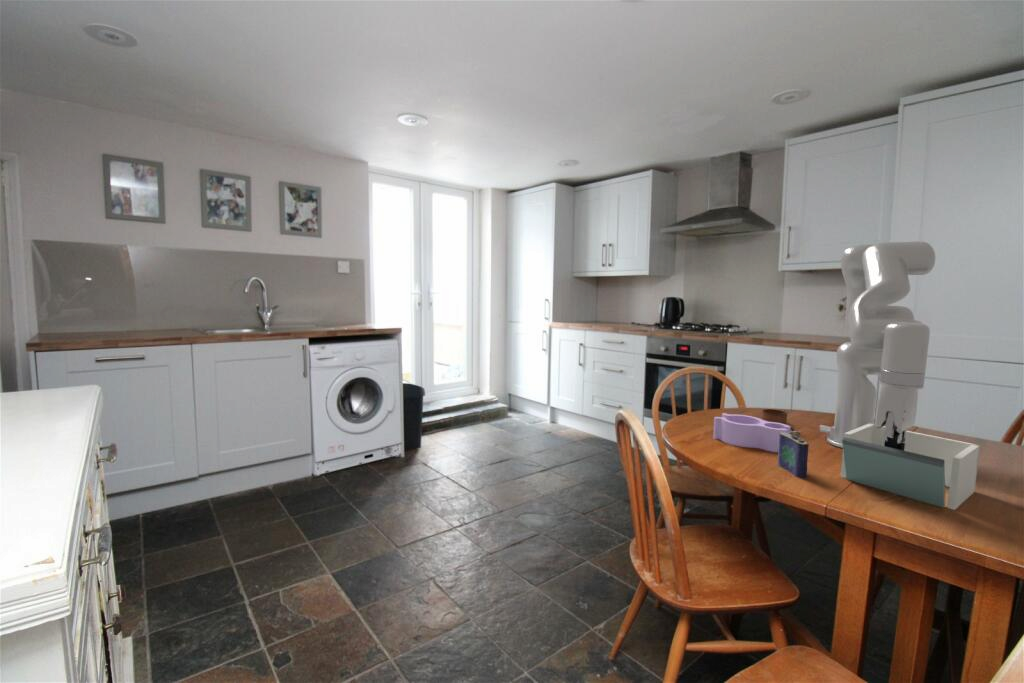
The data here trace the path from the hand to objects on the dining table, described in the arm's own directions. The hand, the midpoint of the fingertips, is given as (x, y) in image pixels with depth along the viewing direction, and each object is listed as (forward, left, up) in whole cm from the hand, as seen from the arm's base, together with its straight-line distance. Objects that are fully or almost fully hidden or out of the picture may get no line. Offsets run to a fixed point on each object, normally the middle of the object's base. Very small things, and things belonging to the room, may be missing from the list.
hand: (892, 458), depth 105 cm
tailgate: (0, +2, -8) cm, 8 cm away
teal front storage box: (0, +10, -9) cm, 13 cm away
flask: (-19, -4, -9) cm, 21 cm away
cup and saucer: (-41, +33, -10) cm, 54 cm away
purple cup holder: (-38, +12, -10) cm, 41 cm away
